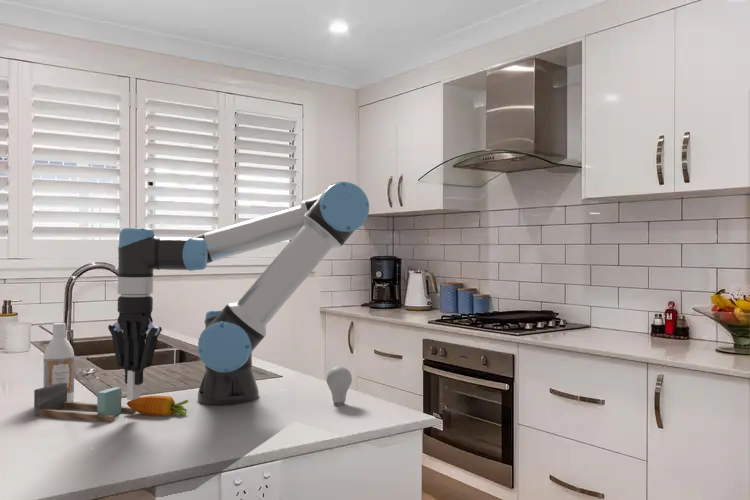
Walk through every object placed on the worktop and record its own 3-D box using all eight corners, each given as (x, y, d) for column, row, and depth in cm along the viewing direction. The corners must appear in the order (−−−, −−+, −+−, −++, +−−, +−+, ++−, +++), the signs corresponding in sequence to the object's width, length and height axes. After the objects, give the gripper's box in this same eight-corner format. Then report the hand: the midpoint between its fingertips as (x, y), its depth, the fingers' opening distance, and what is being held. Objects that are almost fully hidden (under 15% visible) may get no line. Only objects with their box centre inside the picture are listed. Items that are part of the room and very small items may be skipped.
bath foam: (45, 406, 156) (45, 325, 156) (41, 401, 161) (42, 322, 161) (75, 403, 159) (76, 324, 159) (71, 397, 165) (72, 321, 165)
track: (135, 414, 149) (136, 388, 149) (111, 423, 141) (111, 396, 141) (61, 406, 156) (62, 382, 156) (34, 415, 147) (34, 389, 147)
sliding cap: (121, 413, 149) (121, 387, 149) (104, 419, 143) (104, 392, 143) (114, 412, 149) (114, 387, 149) (97, 418, 144) (97, 392, 144)
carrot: (130, 388, 150) (190, 393, 147) (134, 405, 152) (193, 411, 149) (119, 400, 145) (181, 406, 143) (123, 418, 147) (184, 424, 145)
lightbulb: (340, 407, 157) (340, 363, 157) (356, 412, 152) (357, 366, 152) (321, 411, 152) (321, 366, 152) (337, 416, 148) (338, 369, 148)
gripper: (169, 295, 146) (168, 397, 146) (122, 293, 150) (120, 392, 150) (149, 297, 139) (147, 404, 139) (100, 295, 143) (98, 399, 143)
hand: (133, 398), depth 144 cm, fingers closed
